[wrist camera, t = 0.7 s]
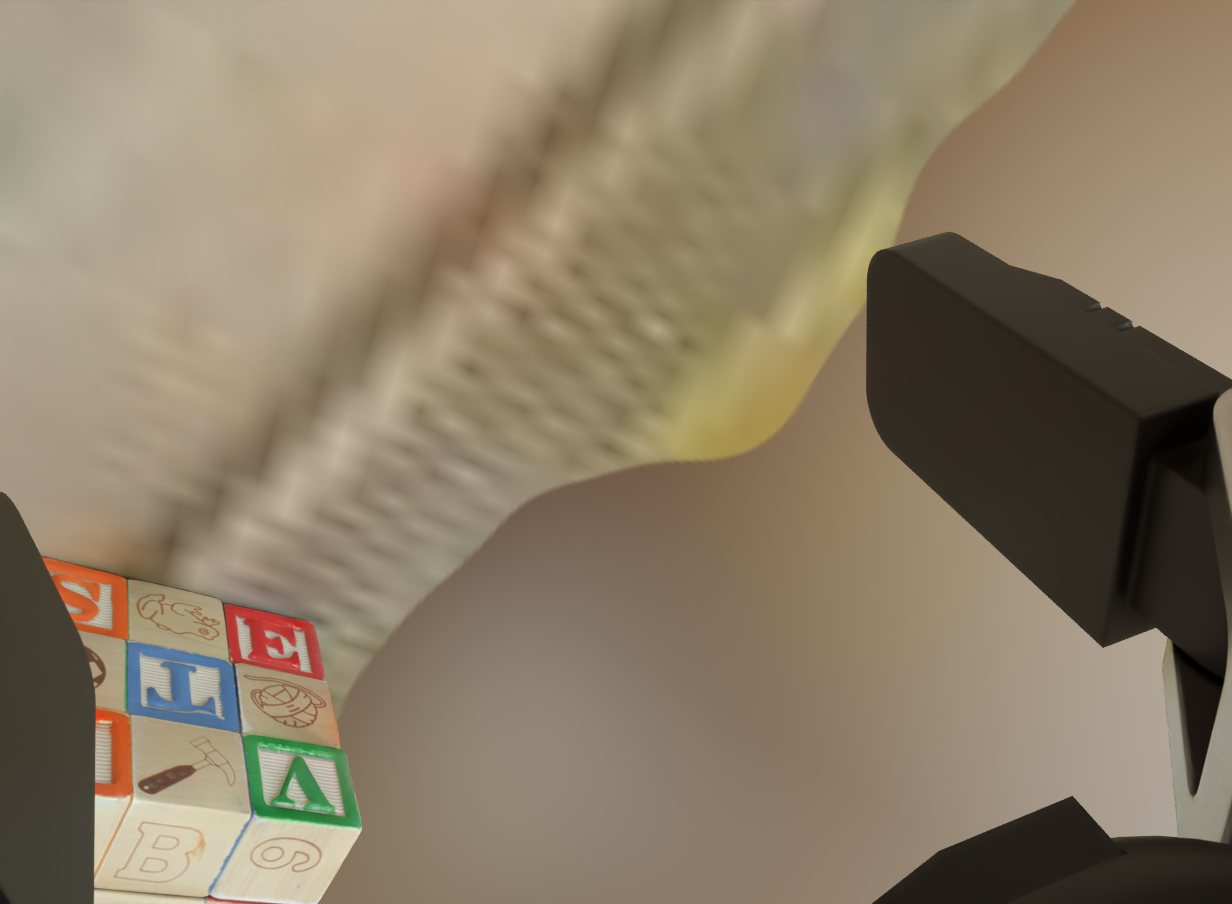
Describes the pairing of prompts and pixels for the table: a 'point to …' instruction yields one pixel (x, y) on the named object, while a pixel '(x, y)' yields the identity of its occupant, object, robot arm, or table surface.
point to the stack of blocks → (208, 748)
